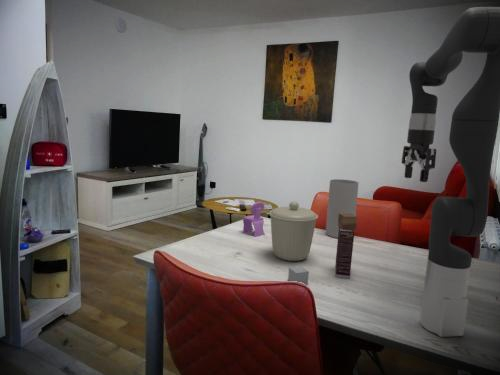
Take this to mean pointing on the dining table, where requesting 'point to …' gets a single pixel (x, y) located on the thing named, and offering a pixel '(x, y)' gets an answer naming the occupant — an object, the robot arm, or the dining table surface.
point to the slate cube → (298, 274)
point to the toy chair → (254, 219)
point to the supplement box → (344, 253)
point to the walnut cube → (347, 221)
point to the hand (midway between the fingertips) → (415, 179)
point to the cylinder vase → (340, 203)
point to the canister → (292, 231)
